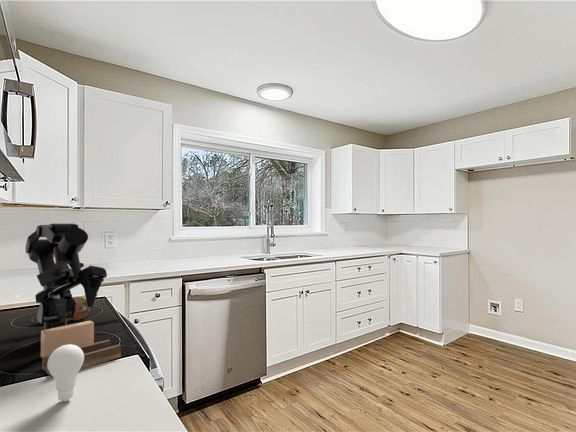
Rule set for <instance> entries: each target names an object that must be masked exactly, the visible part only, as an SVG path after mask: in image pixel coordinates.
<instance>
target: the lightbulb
mask: <svg viewBox="0 0 576 432" xmlns="http://www.w3.org/2000/svg"><path fill="white" fill-rule="evenodd" d="M83 361H84V353H83V351H82V350H81V349H80V348H79V347H78V346H76V345H72V344H68V345H63V346H61V347H59V348H57V349H56V350H54V351H53V353H52V354H51V355H50V357H49V359H48V363H47V367H48V370H49V372H50V373H51V375H52V376H53V379H54V381H55V388H56V390H57V399H58V401H60V402H64V403H65V402H67V401H69V400H70V399H72V398H73V397H74V390H75V389H74V387H75V386H76V380H77V376H78V373H79V372H80V370H81V369H80V368H81V366H82V364H83Z"/></svg>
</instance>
